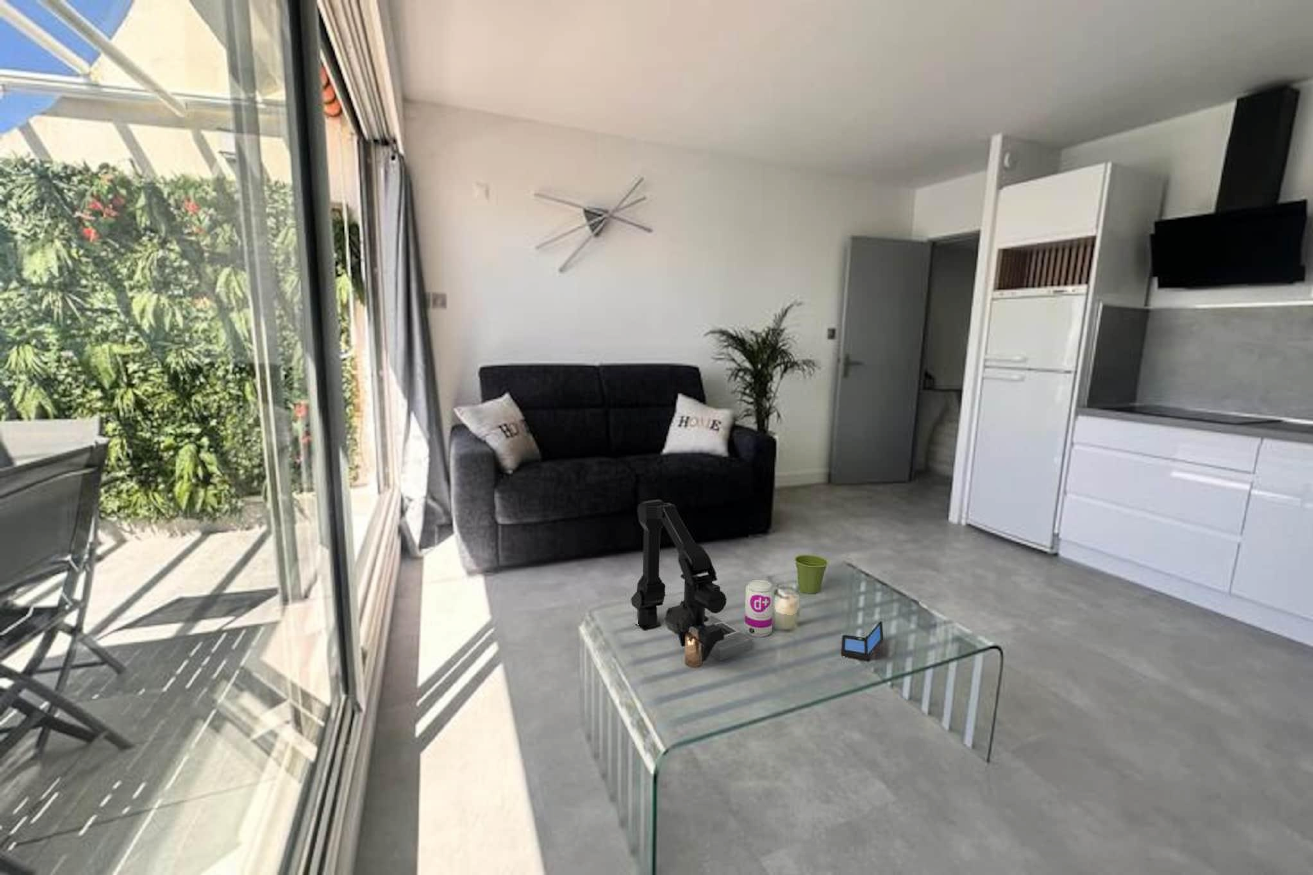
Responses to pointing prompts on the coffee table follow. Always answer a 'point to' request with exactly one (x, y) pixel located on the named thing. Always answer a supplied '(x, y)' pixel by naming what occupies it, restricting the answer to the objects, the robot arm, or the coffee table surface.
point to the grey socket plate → (727, 640)
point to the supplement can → (759, 608)
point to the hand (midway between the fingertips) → (693, 653)
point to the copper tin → (692, 650)
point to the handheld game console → (862, 644)
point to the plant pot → (810, 572)
